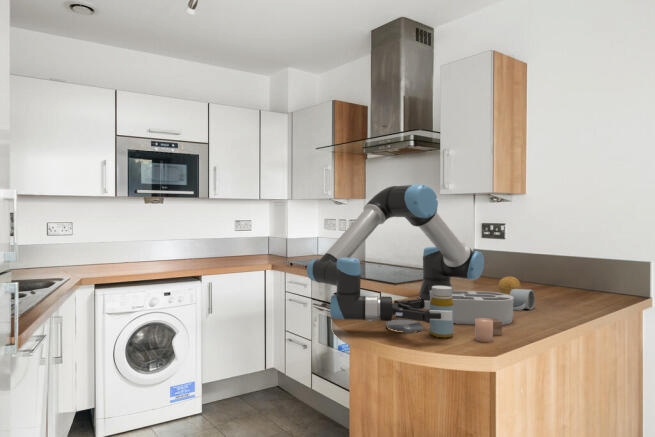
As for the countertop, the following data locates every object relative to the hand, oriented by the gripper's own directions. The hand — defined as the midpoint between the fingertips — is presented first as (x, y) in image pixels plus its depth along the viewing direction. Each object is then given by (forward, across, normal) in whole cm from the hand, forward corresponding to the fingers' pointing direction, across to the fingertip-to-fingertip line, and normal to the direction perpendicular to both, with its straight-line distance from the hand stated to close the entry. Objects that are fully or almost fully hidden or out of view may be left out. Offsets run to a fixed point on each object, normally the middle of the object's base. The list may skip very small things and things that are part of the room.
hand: (448, 310), depth 134 cm
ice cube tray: (+12, -23, -8) cm, 27 cm away
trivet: (-13, -7, -8) cm, 17 cm away
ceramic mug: (+34, -42, -8) cm, 55 cm away
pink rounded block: (+10, +3, -8) cm, 13 cm away
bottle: (-2, 0, -8) cm, 8 cm away
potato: (+37, -64, -8) cm, 74 cm away
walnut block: (+14, -4, -8) cm, 17 cm away
